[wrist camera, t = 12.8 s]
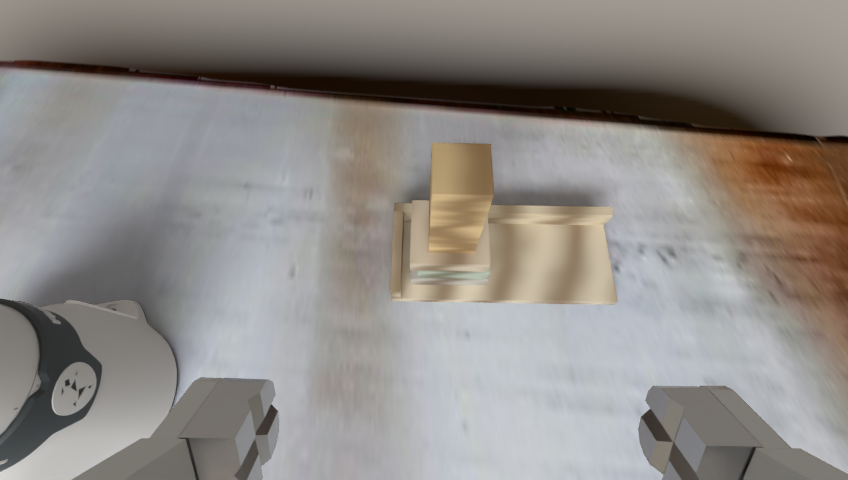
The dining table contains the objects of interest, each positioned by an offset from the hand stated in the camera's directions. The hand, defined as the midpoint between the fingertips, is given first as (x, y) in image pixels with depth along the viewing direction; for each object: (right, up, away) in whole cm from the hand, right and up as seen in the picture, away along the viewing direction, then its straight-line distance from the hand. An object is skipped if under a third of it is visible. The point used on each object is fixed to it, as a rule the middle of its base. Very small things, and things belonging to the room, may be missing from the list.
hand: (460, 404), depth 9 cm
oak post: (+2, +4, +31) cm, 31 cm away
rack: (+8, +1, +37) cm, 38 cm away
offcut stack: (+2, +2, +36) cm, 36 cm away
